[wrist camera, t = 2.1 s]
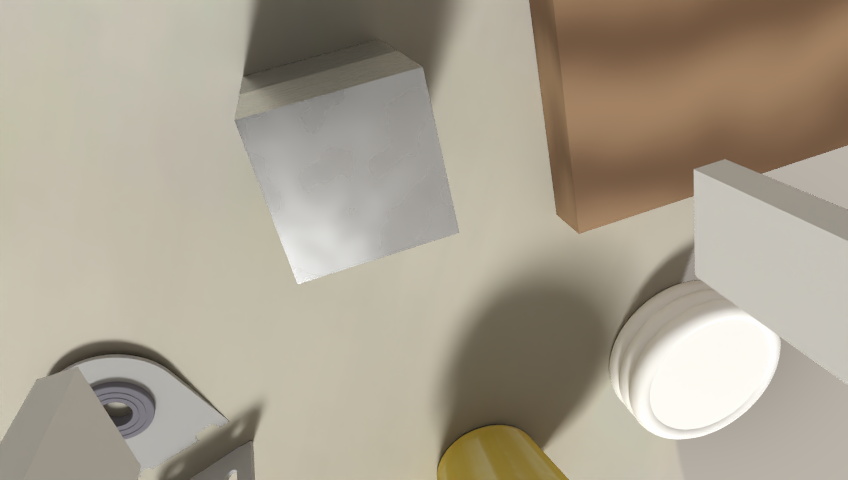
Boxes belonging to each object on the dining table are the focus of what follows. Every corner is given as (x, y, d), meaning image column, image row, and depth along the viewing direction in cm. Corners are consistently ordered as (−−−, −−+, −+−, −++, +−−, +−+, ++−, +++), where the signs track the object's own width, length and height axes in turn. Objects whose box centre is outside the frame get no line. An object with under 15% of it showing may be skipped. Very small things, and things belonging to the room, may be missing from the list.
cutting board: (504, -191, 23) (530, -207, 21) (856, -273, 25) (913, -296, 23) (556, 214, 31) (579, 233, 29) (817, 130, 33) (856, 142, 31)
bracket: (124, 322, 28) (107, 366, 25) (256, 439, 33) (255, 487, 30) (13, 396, 28) (-17, 448, 25) (160, 501, 33) (150, 555, 30)
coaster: (717, 399, 41) (754, 435, 38) (590, 413, 39) (619, 452, 35) (764, 273, 37) (809, 301, 34) (625, 278, 35) (661, 309, 31)
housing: (243, 76, 25) (234, 120, 18) (379, 39, 25) (422, 66, 18) (289, 202, 27) (297, 284, 20) (410, 165, 28) (459, 232, 21)
